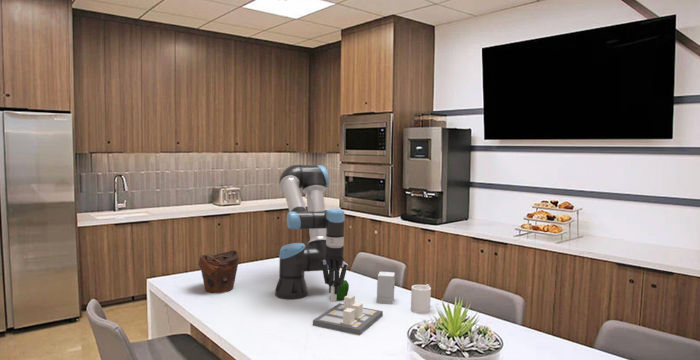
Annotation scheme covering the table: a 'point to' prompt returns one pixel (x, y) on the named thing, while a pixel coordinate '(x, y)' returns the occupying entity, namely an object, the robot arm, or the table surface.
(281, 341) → the table surface
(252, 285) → the table surface
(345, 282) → the bell pepper
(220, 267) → the chocolate chip muffin
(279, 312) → the table surface
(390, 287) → the supplement box
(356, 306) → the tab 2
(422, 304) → the cup
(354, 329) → the switch bank
